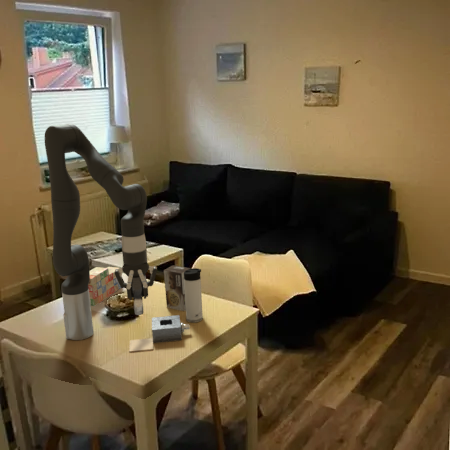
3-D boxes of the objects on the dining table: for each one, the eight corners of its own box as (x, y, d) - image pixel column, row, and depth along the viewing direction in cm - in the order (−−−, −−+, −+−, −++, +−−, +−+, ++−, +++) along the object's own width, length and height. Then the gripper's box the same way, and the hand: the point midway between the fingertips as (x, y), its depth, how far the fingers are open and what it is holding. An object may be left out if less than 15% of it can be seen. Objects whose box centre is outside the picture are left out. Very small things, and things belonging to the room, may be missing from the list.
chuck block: (153, 343, 185) (152, 329, 184) (152, 330, 195) (151, 317, 193) (190, 339, 187) (190, 326, 185) (188, 326, 196) (188, 314, 195)
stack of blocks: (110, 285, 239) (107, 259, 236) (122, 287, 237) (120, 261, 234) (81, 304, 220) (78, 276, 217) (94, 306, 218) (91, 278, 215)
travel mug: (201, 323, 199) (198, 272, 194) (184, 322, 200) (181, 272, 195) (205, 316, 205) (202, 267, 199) (188, 315, 206) (185, 266, 201)
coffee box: (193, 305, 214) (191, 268, 210) (184, 311, 209) (181, 273, 205) (175, 301, 219) (173, 264, 215) (165, 307, 214) (163, 269, 210)
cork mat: (129, 352, 179) (129, 351, 179) (129, 341, 187) (129, 340, 187) (153, 349, 180) (153, 348, 180) (152, 339, 188) (152, 338, 188)
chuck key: (132, 316, 172) (129, 278, 168) (133, 311, 176) (130, 274, 172) (145, 315, 172) (142, 277, 169) (145, 310, 176) (142, 273, 173)
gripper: (110, 253, 164) (115, 304, 168) (156, 249, 165) (160, 301, 170) (112, 245, 171) (116, 295, 175) (156, 242, 173) (160, 292, 177)
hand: (138, 298), depth 173 cm, fingers closed on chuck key, 4 cm apart
